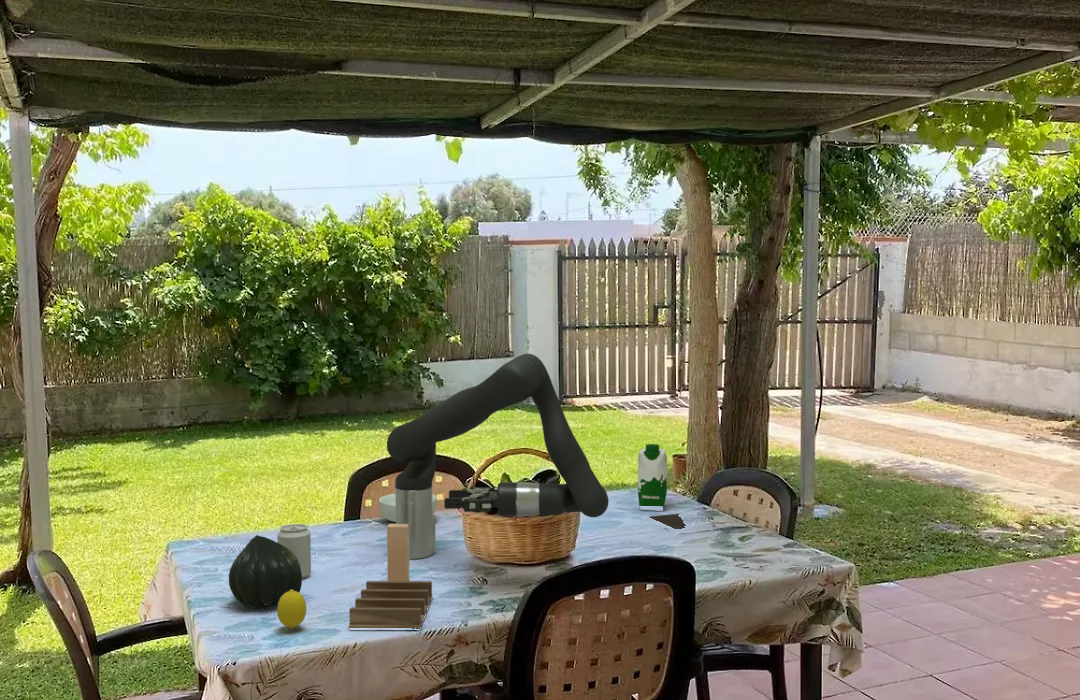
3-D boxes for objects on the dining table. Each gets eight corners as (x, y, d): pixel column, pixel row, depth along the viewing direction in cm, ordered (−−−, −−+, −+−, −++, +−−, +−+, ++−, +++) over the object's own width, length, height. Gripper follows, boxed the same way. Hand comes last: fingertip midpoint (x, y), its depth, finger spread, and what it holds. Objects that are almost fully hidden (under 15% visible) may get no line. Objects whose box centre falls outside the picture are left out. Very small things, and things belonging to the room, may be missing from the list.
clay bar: (389, 584, 219) (389, 523, 218) (409, 584, 219) (409, 523, 218) (387, 588, 216) (387, 527, 215) (407, 588, 216) (407, 527, 215)
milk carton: (636, 511, 291) (637, 445, 290) (639, 504, 300) (639, 441, 299) (665, 512, 289) (666, 446, 288) (667, 506, 298) (668, 442, 297)
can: (281, 583, 219) (281, 531, 219) (274, 574, 226) (274, 524, 225) (314, 578, 223) (313, 527, 222) (306, 570, 230) (305, 521, 229)
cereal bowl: (380, 515, 285) (380, 492, 285) (437, 514, 287) (437, 491, 287) (377, 530, 268) (377, 505, 268) (437, 528, 270) (437, 503, 270)
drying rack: (368, 598, 209) (367, 580, 209) (432, 598, 209) (432, 580, 209) (348, 630, 189) (348, 610, 189) (419, 631, 189) (419, 611, 189)
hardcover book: (748, 529, 272) (748, 521, 272) (676, 537, 263) (677, 528, 263) (717, 516, 287) (717, 509, 286) (648, 523, 278) (649, 515, 278)
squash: (303, 588, 198) (298, 523, 207) (227, 597, 194) (225, 531, 203) (303, 616, 209) (298, 553, 218) (231, 625, 205) (229, 561, 214)
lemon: (280, 625, 192) (279, 585, 192) (308, 624, 193) (308, 585, 192) (275, 634, 187) (274, 594, 186) (304, 634, 187) (303, 593, 187)
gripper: (520, 476, 222) (450, 476, 223) (517, 489, 208) (442, 489, 209) (520, 508, 223) (450, 508, 223) (517, 523, 209) (443, 523, 209)
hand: (446, 499), depth 216 cm, fingers open, 8 cm apart
